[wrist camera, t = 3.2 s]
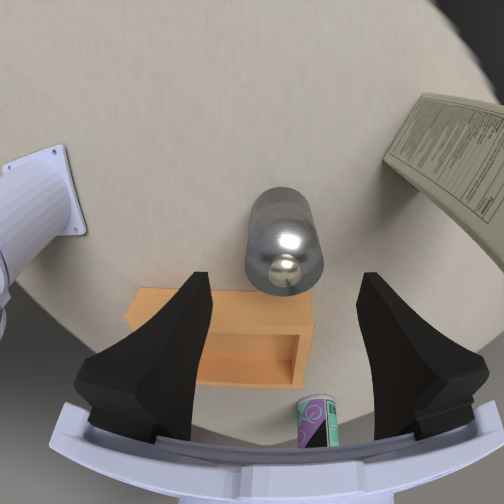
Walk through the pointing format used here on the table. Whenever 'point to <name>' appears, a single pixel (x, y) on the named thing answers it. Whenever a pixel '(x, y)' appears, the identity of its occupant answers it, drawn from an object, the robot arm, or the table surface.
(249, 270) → the cell
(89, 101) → the table surface
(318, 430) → the spray can
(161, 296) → the trough
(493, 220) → the skincare box
